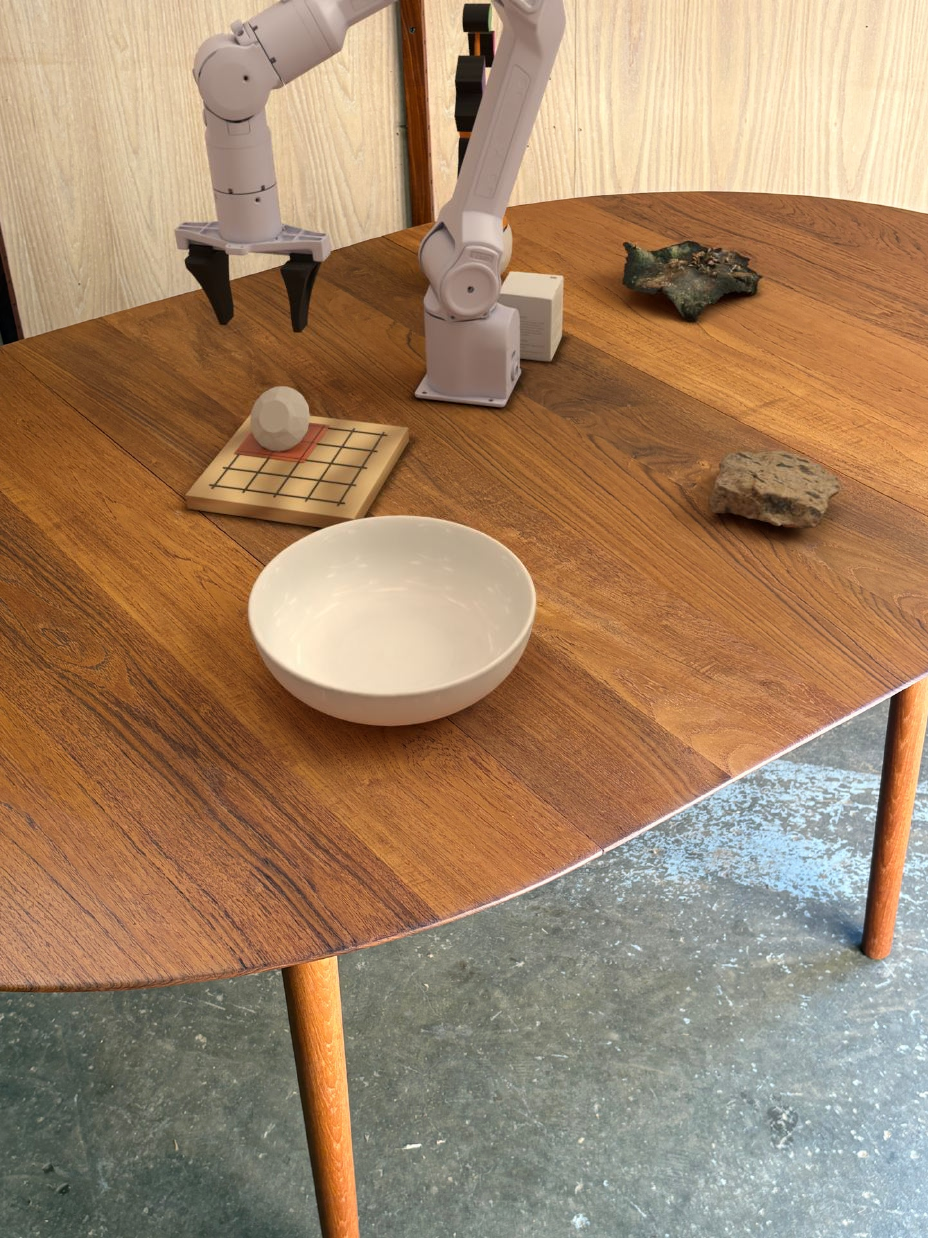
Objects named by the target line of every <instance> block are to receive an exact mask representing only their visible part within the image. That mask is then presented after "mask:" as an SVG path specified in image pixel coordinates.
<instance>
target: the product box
mask: <svg viewBox="0 0 928 1238" xmlns="http://www.w3.org/2000/svg"><path fill="white" fill-rule="evenodd" d="M564 280H565V279H564V275H558V274H549V273H548V274H547V273H538V272H537V273H536V272H535V273H534V272H526V271H525V272H524V271H509V273H508V274H507V276H506V277H505V279H504V281H503V283H501V291H500V295H499V298H498V300H497V301H496V302H498V303H499V304H501V305H503V306H506V307H510V308H514V309H517V310H518V312H519V317H520V360H523V359H524V360H531V361H538V362H552V360H553V358H554V356H555V353H556V352H557V349H558V346H559V344H560V342H561V340H562V337H563V317H564V316H563V315H564V313H563V312H564Z"/></svg>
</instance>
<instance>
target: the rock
mask: <svg viewBox="0 0 928 1238" xmlns="http://www.w3.org/2000/svg"><path fill="white" fill-rule="evenodd" d="M718 468H719V470H718V474H717V477H716V478H715V481H714V483H713V487H712V492H711V494H710V496H709V498H708V500H707V507H708V510H709V512H712V513H714V514H726V513H731V514H734V515H737V516H739V515H740V516H742V517H744V518H747V519H752V520H759V521H762V522H767V523H769V524H771V525H774V526H776V527H780V526H781V525H782V527H784V528H796V529H805V530H806V529H807V530H809V529H816V528H818V527H819V526H820V525H822V522H823V518H824V516H825V512H827V509H828V508H829V500H830V499H832V498H833V497H835V496H836V495H838V494H839V493H840V492H841V490H842V487H843V484H842V483H841V482H840V480H839V478H838V477H837V476H834V475H831V474H830V472H829V471H827V470H826V469H825V467H823V466H822V465H821V464H820V463H818V462H812V461H811V460H810V459H808V458H806V457H800V456H798V455H797V454H796V453H790V452H789V451H786V450H771V451H766V452H765V451H759V452H756V453H755V452H750V451H746V450H742V451H741V450H740V451H738V452H730V453H727V454H726V455H725V456H723V458H722V461H720V463H719V466H718Z"/></svg>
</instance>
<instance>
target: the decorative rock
mask: <svg viewBox="0 0 928 1238" xmlns="http://www.w3.org/2000/svg"><path fill="white" fill-rule="evenodd" d="M622 246H623V248H624V251H626V254H627V256H625V261H626V262H625V263H624V266H623V267H624V269H623V277H622V280H621V281H622V285H623V286H625V287H626V288H627V289H628V290H630V291H637V292H640V294H642V293H643V294H644V293H647V294H650V295H658V294H659V293H661V294H662V293H663V294H664V295H665V299H667V300H670V301H671V302H672V303H673V304H674V306H675V308H676V309H677V311H678V312H679V314H680V316H681V318H682V320H687V321H693V322H697V321H698V317H700V316H701V315H702V313H703V311H704V309H706V307H707V306H708V305H710V304H712V305H715V304H716V303H718V301H719V300H720V298H721V297H723V296H724V295H725V294H729V293H732V292H734V293H741V292H747V293H748V294H749V293H750V295H751V296H755V295H756V294H757V292H758V283H759V282H760V280H762V279H763V277H764V276H763V275H761V274H759V273H758V272H756V271H755V270H753V269H751V268H750V267H748V266H749V265H750V263H749V262H750V261H751V258H749V257H746V256H743V255H740V254H739V252H737V251H733V250H724V249H723V248H722V247H717V248H715V249H714V248H713V247H711V248H709V247H707V246H702V245H701V244H700V243H699V242H698V241H697V242H696V241H694V240H685V241H683V242H680V243H675V244H672V245H670V246H665V247H661V248H659V249H655V250H653V249H652V250H648V249H644V248H641V247H639V246H637V245H636V244H633V243H630V242H629V241H625V242H622Z"/></svg>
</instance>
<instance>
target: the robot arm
mask: <svg viewBox="0 0 928 1238" xmlns="http://www.w3.org/2000/svg"><path fill="white" fill-rule="evenodd" d="M398 1H399V0H278V1H276V2H275V3H274V4H271V5H270V6H269V7H266V8H265V9H263V10H262V11H261V12H259V13H258V14H256V15H254V16H253V17H251V18H250V19H249V18H248V20H246V21H245V22H242V21H241V19H240V18H238V19H236V20H235V21H233V22H231V23H230V25H229V27H230V30H231V31H232V33H229V32H228V33H224V32H221V33H216V34H214V35H211V36H209V37H208V38H207V39H205V40H204V41H203V42H202V43H201V44H200V45H199V47H198V49H197V50H198V51H197V52H196V53H195V55H194V60H193V68H192V70H191V72H192V76H193V79H194V81H195V84H196V86H197V89H198V93H199V96H200V97H201V100H202V106H203V109H202V119H203V124H204V126H205V127H206V128H205V130H204V141H205V147H206V154H207V159H208V161H207V162H208V166H209V174H210V180H211V186H212V193H213V199H214V206H215V213H216V219H217V220H216V221H214V220H213V221H182V222H181V223H180V224H179V225H178V226H177V227H175V228H174V237H175V242H176V248H177V250H181V251H188V255H187V256H186V257H185V259H184V260H183V261H184V266H185V268H186V270H187V271H188V272H189V273H190V274H191V275H192V276H193V278H194V279H195V281H197V283H198V284H199V286H200V287H201V289H202V290H203V292H204V294H205V296H206V298H207V299H208V302H209V303H210V305H211V308H212V310H213V313H214V315H215V316H216V319H217V322H218V324H219V326H227V324H229V322H230V321H232V319H233V318H234V317H235V308H234V307H235V306H234V299H233V293H232V288H231V280H230V256H240V257H241V256H242V257H243V256H246V255H248V254H249V253H251V254H252V253H253V254H263V255H273V256H274V255H276V256H287V257H289V259H288V260H287V261H286V262H285V263H284V264H283V265H282V266H280V268H279V269H280V271H279V272H280V275H281V278H282V280H283V282H284V286H285V290H286V293H287V298H288V304H289V312H290V323H291V327H292V332H293V333H297V334H300V333H302V332H303V331H304V330H305V329H306V327H307V326H308V324H309V322H308V321H309V320H308V319H309V310H310V303H311V298H312V292H313V290H314V285H315V281H316V278H317V276H318V272H319V270H320V267H321V265H322V263H323V262H325V261H326V260H327V259H328V258H329V256H330V255H331V254H332V253H331V252H332V251H331V241H330V234H329V233H325V232H318V231H313V230H309V229H305V228H301V227H298V226H293V225H289V224H286V223H282V217H281V216H282V215H281V208H280V207H281V206H280V200H279V189H278V183H277V182H278V181H277V175H276V166H275V157H274V150H273V141H272V133H271V128H270V126H269V125H268V121H267V112H266V105H267V104H268V102H269V97H270V94H271V91H272V90H273V91H274V90H280V89H282V88H283V87H285V86H286V85H288V84H289V83H291V82H293V81H295V80H296V79H298V78H299V77H301V76H303V75H304V74H306V73H307V72H309V71H311V70H312V69H314V68H316V67H317V66H319V65H321V64H322V63H324V62H325V61H327V60H329V59H331V58H332V57H333V56H335V55H336V54H339V53H340V52H342V50H343V49H344V43H345V39H346V36H347V33H348V30H349V29H350V28H351V27H353V26H355V25H357V24H358V23H360V22H362V21H363V20H365V19H367V18H369V17H370V16H372V15H374V14H377V13H378V12H380V11H382V10H383V9H385V8H387V7H389V6H390V5H392V4H394V3H396V2H398ZM490 2H491V5H493V7H494V10H495V11H496V13H497V15H498V17H499V19H500V21H501V23H502V31H501V34H500V37H499V40H498V44H497V47H496V51H495V57H494V60H493V64H492V67H491V68H490V70H489V74H488V78H487V79H486V87H485V90H484V94H483V97H482V100H481V104H480V107H479V110H478V114H477V117H476V120H475V124H474V127H473V130H472V133H471V137H470V140H469V143H468V147H467V150H466V153H465V157H464V160H463V163H462V167H461V170H460V173H459V177H458V180H457V179H456V180H457V181H456V184H455V187H454V189H453V193H452V197H451V198H450V199H449V200H448V201H447V202H446V203H445V204H444V205H443V206H442V207H441V208H440V209H439V213H438V217H437V219H436V222H435V223H434V225H433V226H432V227H431V229H430V230H429V231H428V232H427V233H426V234H425V235H424V237H423V238H422V240H421V242H420V244H419V248H418V254H417V255H418V256H417V258H418V259H417V260H418V264H419V267H420V270H421V271H422V273H423V274H424V275H425V276H426V278H427V279H428V280H429V285H428V288H427V291H426V293H425V295H424V298H423V318H424V320H423V321H424V341H425V358H426V359H425V362H426V363H425V364H426V365H425V367H426V373H425V375H424V377H423V379H422V380H421V382H420V383H419V385H418V387H417V388H416V390H415V392H414V396H415V397H416V398H418V399H426V400H434V401H443V402H451V403H460V404H466V405H467V404H469V405H475V406H477V405H478V406H486V407H493V408H504V407H505V406H506V405H507V403H508V400H509V399H510V396H511V394H512V392H513V390H514V388H515V386H516V384H517V382H518V380H519V378H520V376H521V375H522V369H521V368H520V367H521V359H520V317H519V312H518V310H517V309H514V308H510V307H506V306H503V305H501V304H499V303H498V302H497V300H498V298H499V295H500V291H501V286H502V278H501V275H500V263H501V259H502V256H503V253H504V238H503V218H504V215H506V211H507V208H508V205H509V202H510V200H511V197H512V194H513V189H514V187H515V184H516V181H517V178H518V174H519V171H520V169H521V166H522V162H523V159H524V157H525V153H526V150H527V147H528V145H529V144H528V143H529V141H530V138H531V135H532V132H533V129H534V126H535V123H536V120H537V116H538V114H539V111H540V107H541V106H542V105H541V104H542V101H543V98H544V96H545V92H546V89H547V86H548V83H549V80H550V77H551V74H552V70H553V69H554V68H553V67H554V65H555V62H556V59H557V56H558V53H559V49H560V47H561V43H562V40H563V37H564V34H565V30H566V24H567V17H566V16H567V15H566V11H565V4H564V0H490Z"/></svg>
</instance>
